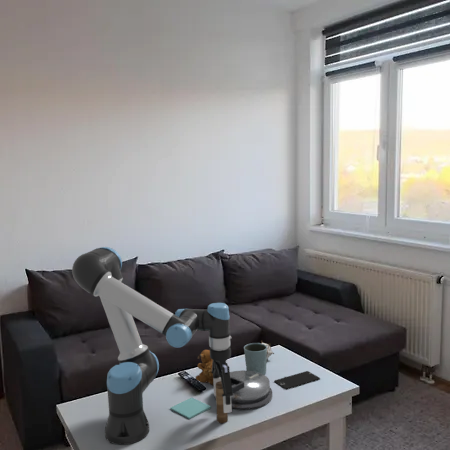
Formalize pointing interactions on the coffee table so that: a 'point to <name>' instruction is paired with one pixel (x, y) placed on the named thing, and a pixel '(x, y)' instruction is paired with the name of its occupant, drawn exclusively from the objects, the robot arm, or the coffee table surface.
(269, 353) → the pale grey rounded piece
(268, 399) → the base
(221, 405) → the key peg
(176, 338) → the robot arm
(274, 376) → the coffee table surface
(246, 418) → the coffee table surface
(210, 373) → the brown teddy bear
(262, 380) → the disc
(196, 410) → the key mat
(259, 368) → the green cup
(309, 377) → the cell phone
